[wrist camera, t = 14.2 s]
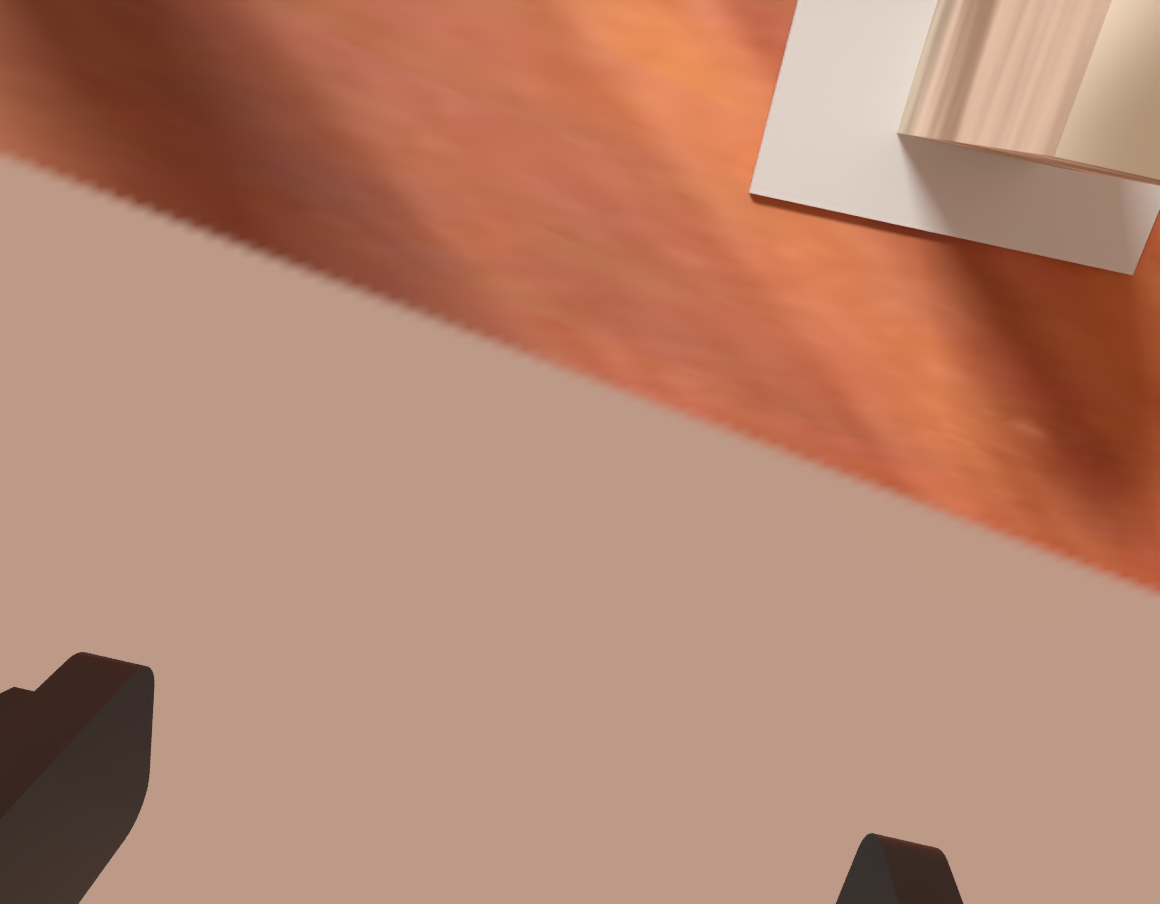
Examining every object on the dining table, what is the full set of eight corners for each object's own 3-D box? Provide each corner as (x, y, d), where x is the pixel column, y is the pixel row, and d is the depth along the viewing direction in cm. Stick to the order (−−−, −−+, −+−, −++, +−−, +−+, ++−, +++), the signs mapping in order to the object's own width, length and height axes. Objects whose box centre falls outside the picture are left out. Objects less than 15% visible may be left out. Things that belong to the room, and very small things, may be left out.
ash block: (896, 132, 33) (1053, 156, 19) (944, -23, 32) (1156, -121, 18) (1037, 164, 33) (1297, 210, 19) (1093, 9, 32) (1425, -63, 18)
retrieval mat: (748, 191, 35) (749, 192, 35) (836, -152, 31) (838, -155, 31) (1128, 273, 35) (1132, 275, 34) (1264, -63, 31) (1271, -65, 30)
